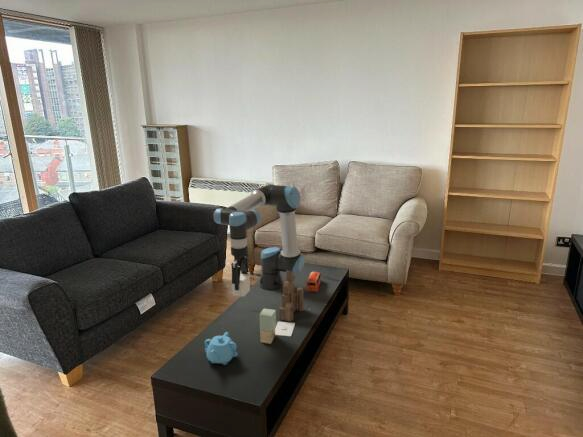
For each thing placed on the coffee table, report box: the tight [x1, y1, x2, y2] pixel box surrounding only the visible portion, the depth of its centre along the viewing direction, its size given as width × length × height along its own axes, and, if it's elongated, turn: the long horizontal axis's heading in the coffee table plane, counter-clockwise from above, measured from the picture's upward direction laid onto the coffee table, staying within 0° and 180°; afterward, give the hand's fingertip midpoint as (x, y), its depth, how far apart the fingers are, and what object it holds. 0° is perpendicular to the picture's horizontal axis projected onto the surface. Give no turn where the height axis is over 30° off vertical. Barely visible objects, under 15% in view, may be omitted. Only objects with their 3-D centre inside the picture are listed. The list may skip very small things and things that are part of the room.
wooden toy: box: [278, 270, 304, 323], centre depth 212 cm, size 16×7×25 cm, turn 150°
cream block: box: [231, 273, 251, 297], centre depth 189 cm, size 7×6×8 cm
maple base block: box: [259, 326, 276, 344], centre depth 192 cm, size 7×5×6 cm
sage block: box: [258, 307, 277, 332], centre depth 191 cm, size 6×6×8 cm
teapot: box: [204, 331, 239, 366], centre depth 176 cm, size 13×14×11 cm
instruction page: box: [275, 321, 296, 337], centre depth 201 cm, size 12×9×1 cm
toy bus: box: [305, 271, 322, 293], centre depth 246 cm, size 7×18×7 cm, turn 168°
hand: (241, 291), depth 190 cm, fingers closed on cream block, 7 cm apart
